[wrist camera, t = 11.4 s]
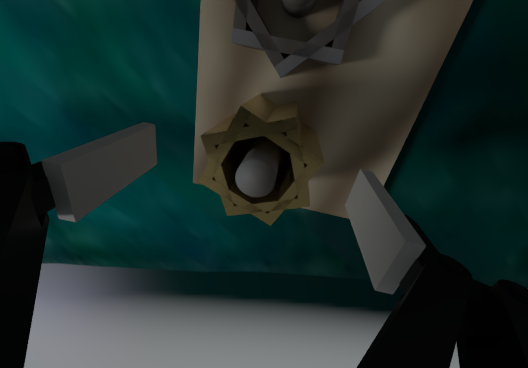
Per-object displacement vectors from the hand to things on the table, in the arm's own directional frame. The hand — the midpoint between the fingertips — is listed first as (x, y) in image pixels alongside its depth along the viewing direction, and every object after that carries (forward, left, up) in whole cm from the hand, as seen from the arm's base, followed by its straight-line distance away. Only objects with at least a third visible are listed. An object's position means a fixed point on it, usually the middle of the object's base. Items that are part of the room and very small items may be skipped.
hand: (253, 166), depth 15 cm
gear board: (+2, +4, -8) cm, 9 cm away
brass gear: (0, 0, -7) cm, 7 cm away
